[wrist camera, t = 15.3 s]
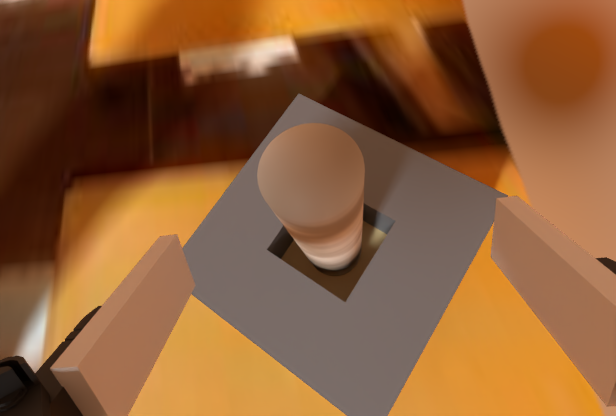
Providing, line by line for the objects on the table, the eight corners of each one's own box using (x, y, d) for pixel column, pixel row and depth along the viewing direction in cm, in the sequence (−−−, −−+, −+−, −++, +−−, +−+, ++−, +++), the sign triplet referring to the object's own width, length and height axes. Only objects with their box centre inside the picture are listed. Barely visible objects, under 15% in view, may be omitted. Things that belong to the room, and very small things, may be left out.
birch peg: (297, 257, 26) (236, 187, 13) (326, 214, 27) (296, 107, 14) (342, 286, 25) (325, 243, 12) (371, 241, 26) (385, 151, 12)
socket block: (197, 281, 27) (164, 272, 23) (307, 129, 31) (298, 93, 26) (371, 414, 23) (375, 437, 18) (481, 218, 26) (507, 195, 21)
